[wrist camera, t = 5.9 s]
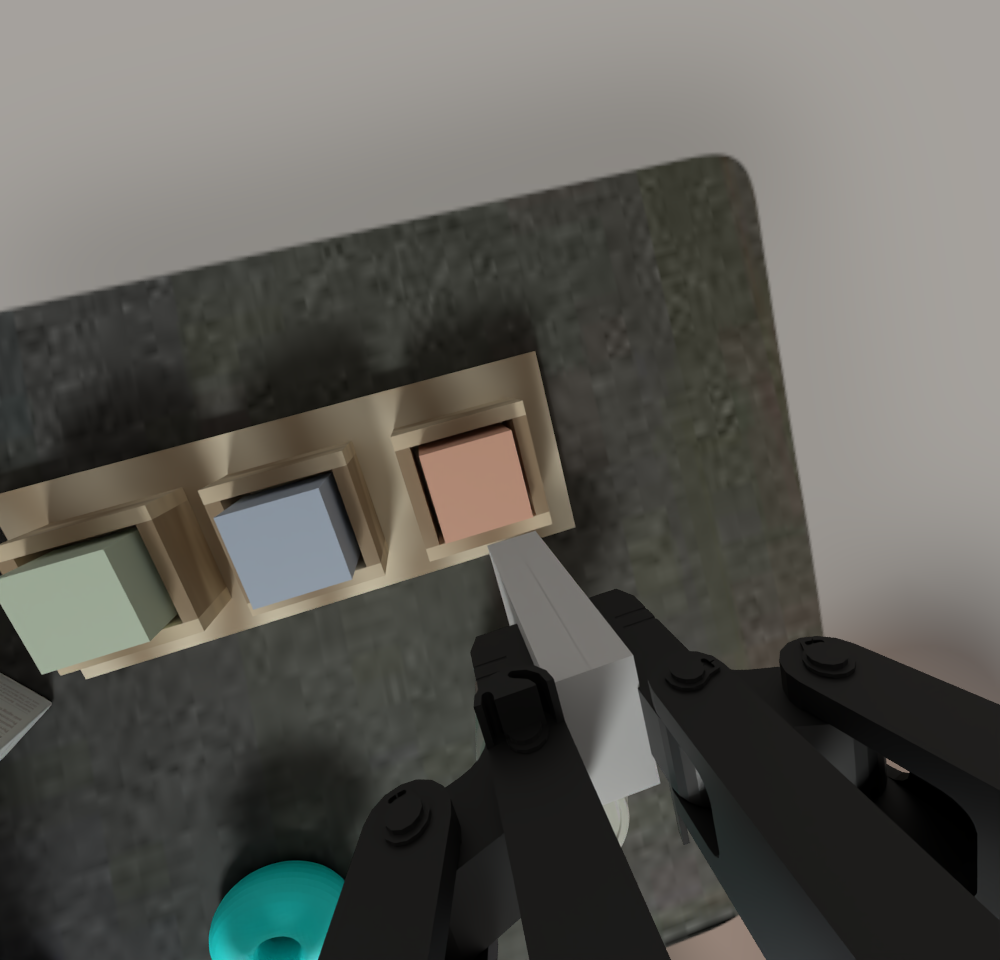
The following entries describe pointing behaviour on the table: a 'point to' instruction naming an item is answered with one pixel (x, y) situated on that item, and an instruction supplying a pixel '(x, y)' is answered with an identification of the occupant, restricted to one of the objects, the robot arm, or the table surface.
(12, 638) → the table surface
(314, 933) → the donuts
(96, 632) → the sage button
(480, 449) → the terracotta button
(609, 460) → the table surface
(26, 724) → the supplement box
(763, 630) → the table surface
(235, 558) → the slate button
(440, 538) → the button panel
